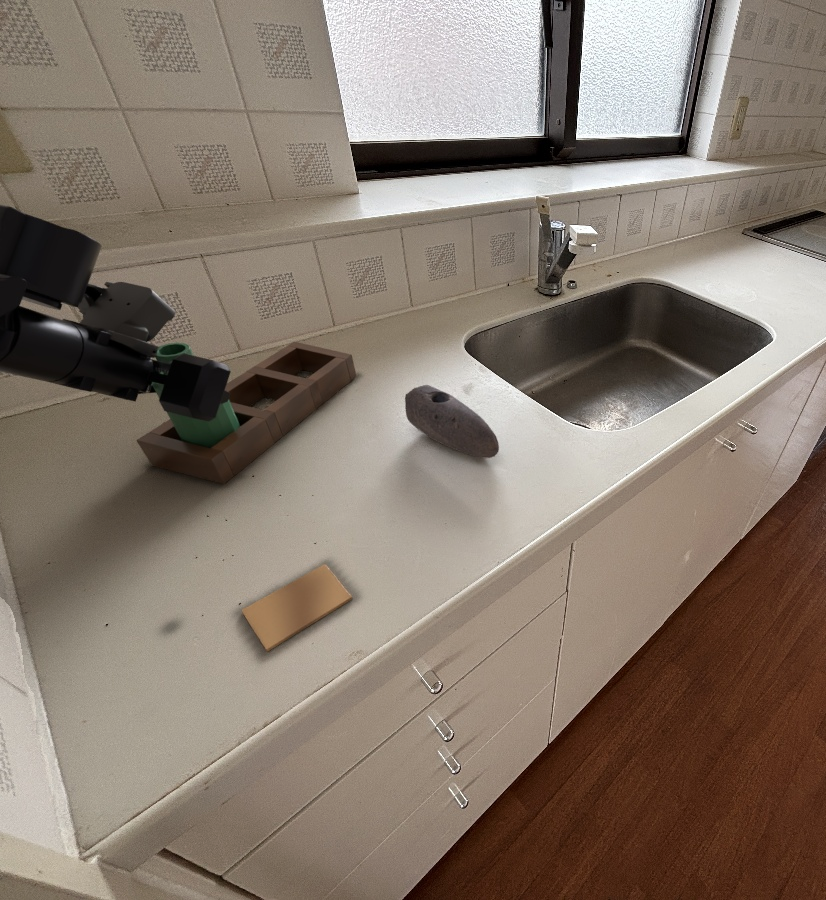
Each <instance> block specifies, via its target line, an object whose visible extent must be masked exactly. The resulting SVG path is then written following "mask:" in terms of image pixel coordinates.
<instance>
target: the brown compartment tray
mask: <svg viewBox="0 0 826 900" xmlns="http://www.w3.org/2000/svg"><path fill="white" fill-rule="evenodd" d="M302 371H306V372H311V373H312V374H311V375H309V376H308V377H307V378H305V377H302V376H297V375H298V374H299V373H301V372H302ZM356 377H357V371H356V367H355V363H354V359H353V354H351V353H347V352H343V351H338V350H333V349H329V348H326V347H325V348H324V347H321V346H316V345H313V344H312V345H311V344H308V343H303V342H299V341H293V342H291V343H289V344H288V345H286V346H285V347H283V348H281V349H279V350H278V351H277V352H275V353H273V354H271V355H270V356H269V357H267V358H265V359H264V360H262V361H260V362H259V363H257V364H255V365H254V366H252V367H250V368H249V369H247V370H246V371H245V372H243V373H241V374H239V375H238V376H237V377H235V378H233V379H232V380H230V381H228V382H227V385H226V388H225V390H226V391H227V392H229V393H230V397H229V401H230V403H231V405H232V408H233V410H234V412H235V415H236V417H237V419H238V422H239V424H240V426H241V427H239V428H238V429H236V430H235V431H234V432H232V433H231V434H230V435H228V436H227V437H225V438H224V439H223V440H221V441H220V442H219V443H217V444H216V445H214V446H213V447H212V448H207V447H203V446H199V445H195V444H191V443H187V442H183V441H182V440H181V438H180V436H179V434H178V433H177V431H176V429H175V427H174V425H173V423H172V421H171V419H170V418H169V419H167V420H166V421H164V422H162V423H161V424H160V425H158V426H156V427H155V428H153V429H152V430H150V431H149V432H147V433H145V434H143V435H142V436H140V437H138V438H137V439H136V442H137V444H138V446H139V447H140V449H141V450H142V452H143V454H144V456H145V457H146V458H147V460H148V462H149V463H150V465H151V466H153V467H158V468H161V469H165V470H169V471H172V472H176V473H179V474H183V475H187V476H191V477H195V478H198V479H203V480H206V481H210V482H214V483H218V484H221V485H225V484H226V483H227V482H228V481H230V480H231V479H232V478H234V476H236V475H237V474H239V473H240V472H241V471H242V470H244V469H245V468H246V467H248V466H249V465H250V463H253V462H254V461H255V460H256V459H257V458H259V457H260V456H261V455H262V454H263V453H264V452H265V451H267V450H268V449H269V448H270V447H272V446H273V445H274V444H275V443H276V442H277V441H279V440H280V439H282V438H283V437H285V435H286V434H288V433H289V432H290V431H291V430H293V429H294V428H295V427H296V426H297V425H299V424H301V422H302V421H304V420H305V419H306V418H307V417H308V416H310V415H312V413H314V412H315V411H316V410H317V409H319V407H321V406H322V405H323V404H325V403H326V402H327V401H329V400H330V399H331V398H332V397H333V396H335V394H336V393H338V392H339V391H340V390H342V389H343V388H344V387H345V386H346V385H348V384H349V383H350V382H351V381H353V380H354V379H355V378H356ZM263 398H268V399H272V400H275V401H274V402H272V403H271V404H270V405H268V406H266V407H265V408H264V409H260V408H257V407H252V406H253V405H255V404H257V403H258V402H259V401H261V400H263Z"/></svg>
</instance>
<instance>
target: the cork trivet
mask: <svg viewBox="0 0 826 900" xmlns="http://www.w3.org/2000/svg"><path fill="white" fill-rule="evenodd" d="M352 600H353V597H352V595H351V594H350V592H349V591H348V590H347V588H346V587H345V586H344V585H343V583H342V582H341V581H340V580H339V579H338V578H337V576H336V575H335V574H334V573H333V572H332V570H331V569H330V568H329V566H328V565H327V564H326V563H324V564H322V565H320V566H319V567H317V568H315V569H313V570H311V571H309V572H308V573H306V574H304V575H302V576H301V577H299V578H297V579H295V580H293V581H291V582H289V583H288V584H286V585H284V586H282V587H280V588H278V589H277V590H275V591H274V592H272V593H270V594H268V595H266V596H265V597H263V598H261V599H259V600H257V601H255V602H254V603H252V604H250V605H248V606H246V607H244V608H243V609H241V613H242V614H243V616H244V617H245V620H246V621H247V623H248V624H249V625H250V627H251V628H252V630H253V631H254V634H255V635H256V636H257V638H258V639H259V641H260V643H261V644H262V646H263V647H264V649H265V651H266V652H269V651H271V650H273V649H275V648H276V647H278V646H279V645H281V644H282V643H284V642H287V640H289V639H291V638H292V637H293V636H295V635H297V634H298V633H300V632H302V631H303V630H305V629H307V628H308V627H310V626H311V625H313V624H315V623H316V622H317V621H319V620H321V619H322V618H324V617H326V616H327V615H329V614H331V613H333V612H334V611H335V610H337V609H339V608H340V607H342V606H344V605H345V604H347V603H348V602H350V601H352Z"/></svg>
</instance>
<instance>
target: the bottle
mask: <svg viewBox="0 0 826 900" xmlns="http://www.w3.org/2000/svg"><path fill="white" fill-rule="evenodd" d="M158 346H159V348H158V351H157V354H156V357H155V358H154V359H155V360H157V361H161V362H165V363H171V362H172V360H173V359H174V358H176V357H178V356H180V355H182V354H189V355H193V356H195V355H194V352H193V349H192V348H191V345H189V344H188V343H185V342H170V343H165V344H162V345H158ZM160 374H164V375H168V373H165V372H160ZM152 386H153V388H154V390H155V391H156V393H155V394H156V395H157V397H158V400H159V399H160V396H161V393H162V390H163V387H164V385H163V384H159V383H155V382H152ZM166 415H168V418H169V419H171V421H172V423H173V425H174V427H175V429H176V431H177V433H178V434H179V436H180V438H181V440H182V441H183V442H187V443H191V444H195V445H199V446H203V447H207V448H212V447H213V446H214V445H216V444H217V443H219V442H220V441H221V440H223V439H224V438H225V437H227V436H228V435H230V434H231V433H232V432H234V431H235V430H236V429H238V428H239V427H241V426H240V424H239V422H238V419H237V417H236V415H235V412H234V410H233V408H232V405H231V403H230V401H229V400H228V402H225V403H222V404H220V406H219V409H218V412H217V415H216V418H214V419H213V420H211V421H204V420H199V419H194V418H190V417H186V416H182V415H178V414H174V413H170V412H166Z"/></svg>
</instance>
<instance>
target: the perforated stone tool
mask: <svg viewBox="0 0 826 900" xmlns="http://www.w3.org/2000/svg"><path fill="white" fill-rule="evenodd" d="M404 405H405V406H404V407H405V408H404V409H405V415H406V419H407V421H408V422H409V424H411V425H412V426H413V427H415V428H416V429H417V430H418V431H420V432H421V433H423V434H424V435H426V436H427V437H428V438H430V439H432V440H433V441H436V442H438V443H440V444H442V445H444V446H446V447H449V448H451V449H454V450H456V451H459V452H461V453H464V454H467V455H469V456H472V457H475V458H476V457H477V458H483V459H491V458H494V457H496V455H498V453H499V451H500V444H499V441H498V437H497V436H496V434H495V432H494V431H493V430H492V429H491V427H490V425H489V424H488V423H487V422H486V421H485V420H484V418H482V417H481V416H480V415H479V414H478V413H477V412H475V410H473V409H472V408H470V407H469V406H468V405H466V404H465V403H464V402H462V401H460V400H459V399H457V398H456V397H454V396H453V395H451V394H449V393H447V392H445V391H443V390H440V389H438V388H436V387H434V386H432V385H429V384H423V385H420V386H417V387H414V388H412V389H411V390H409V391H408V392H407V393H405V396H404Z"/></svg>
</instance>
